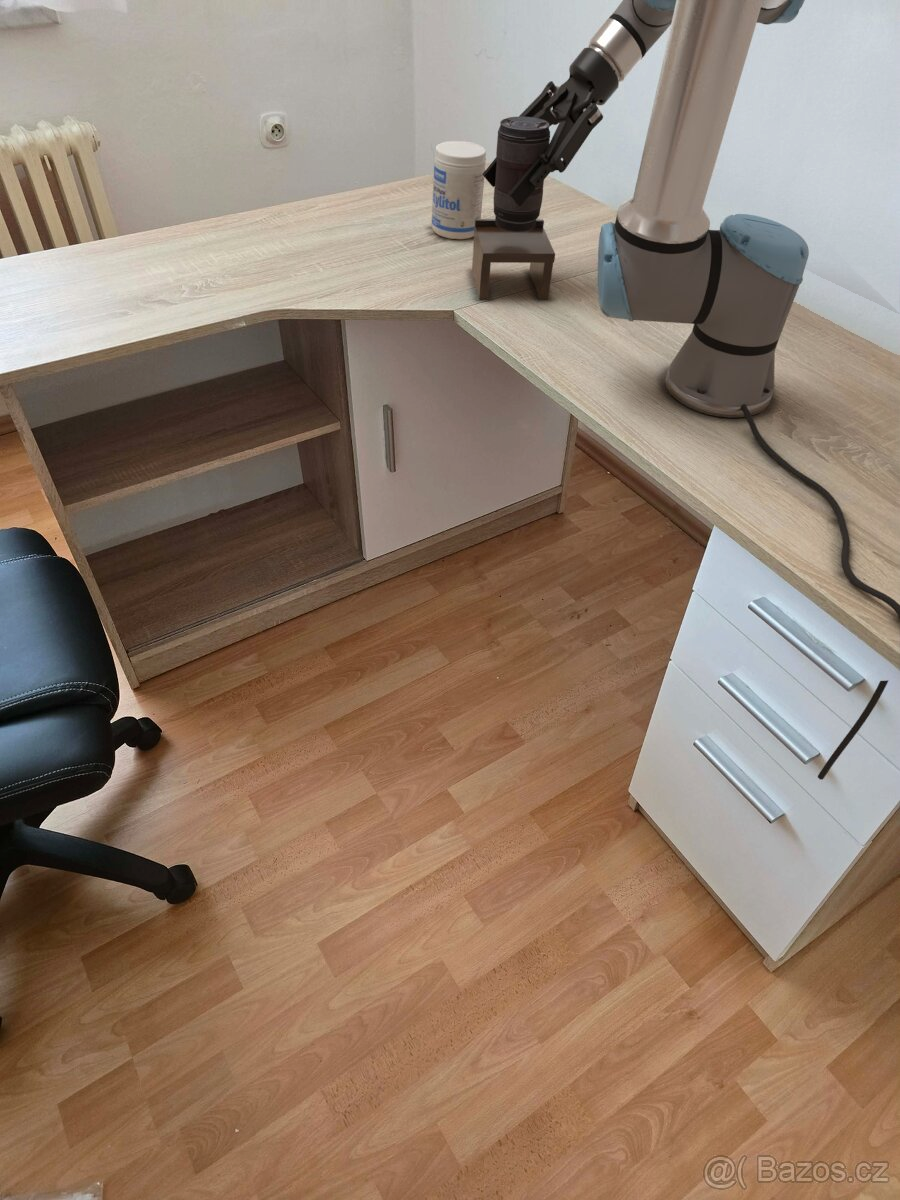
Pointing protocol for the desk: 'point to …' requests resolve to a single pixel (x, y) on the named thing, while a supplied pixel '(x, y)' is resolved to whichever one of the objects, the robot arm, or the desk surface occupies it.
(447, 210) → the supplement tub
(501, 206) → the camera lens
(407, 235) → the desk surface
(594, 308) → the desk surface
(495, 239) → the block
